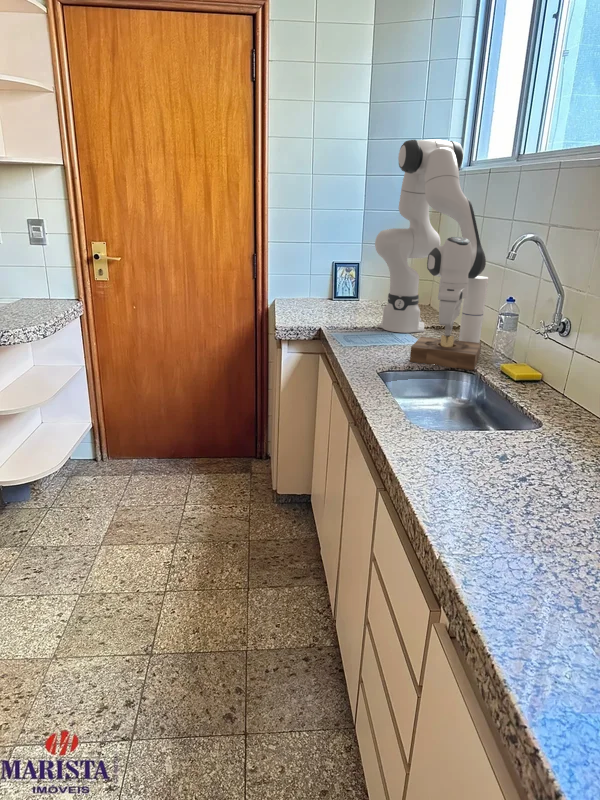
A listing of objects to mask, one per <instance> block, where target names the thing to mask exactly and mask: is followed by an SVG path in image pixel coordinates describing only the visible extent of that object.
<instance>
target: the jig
mask: <svg viewBox="0 0 600 800" xmlns="http://www.w3.org/2000/svg"><path fill="white" fill-rule="evenodd" d="M440 344H441V338H439V337H438V338H437V337H429V336H420V337H419V338H418V339H417V340H416V342H414V343H413V344H412V345H411V346H410V355H409V363H414V362H416V363H417V364H422V363H425V364H424V365H430V364H435V365H434V366H437V365H439V367H446V368H454V369H462V370H468V371H469V370H471V371H475V369H476V366H477V364H478V361H479V360H480V357H481V348H482V343H481V342H480V343H475V342H466V341H459V340H456V339H454V342H453V347H442V346H440Z"/></svg>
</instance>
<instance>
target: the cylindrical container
mask: <svg viewBox="0 0 600 800" xmlns="http://www.w3.org/2000/svg"><path fill="white" fill-rule="evenodd" d="M468 279H469V284H468V292H467V298H464V299H463V301H462V304H463V305H462V312H461V320H460V328H459V336H458V341H466V342H475V343H481V342H480V341H481V335H482V327H483V319H484V312H485V306H486V305H485V304H486V299H487V298H486V297H487V293H488V292H487V291H488V290H487V289H488V285H489V284H488V282H489V277H488V276H480V275H478V276H477V277H475V278H474V279H471V278H468Z"/></svg>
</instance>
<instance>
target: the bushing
mask: <svg viewBox="0 0 600 800" xmlns="http://www.w3.org/2000/svg"><path fill="white" fill-rule="evenodd" d="M440 336H441V337H440V339H441V344H440V346H442V347H453V342H454V340H455V335H452V334H450V335H445V334H441V335H440Z"/></svg>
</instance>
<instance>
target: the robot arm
mask: <svg viewBox="0 0 600 800" xmlns="http://www.w3.org/2000/svg"><path fill="white" fill-rule="evenodd" d="M463 149H464V148H463V147H462V144H461V143H459V142H457V141H454V140H443V139H438V138H437V139H435V138H433V139H419V140H417V139H410V140H406V141H404V142H403V143H402V145H401V146H400V148H399V153H398V157H397V158H398V167H399V168H400V170H401V172H403V173H404V175H403V178H402V184H401V188H400V189H401V190H400V195H399V201H398V212H399V215H401V216H402V217H403V218H404V219H406V220H407V221H409V228H394V227H393V228H388V229H384V230H381V231H379V232H378V234H377V235H376V237H375V241H374V247H375V251H376V253H377V254H378V256H380V257H381V258H382V259H383V260H384V261H385V263H386V265H387V267H388V270H389V278H390V279H389V293H388V295H387V304H386V305H385V306H384V307H383V310H382V319H381V323H378V326H379V327H378V326H377V327H378V328H380V329H383V330H385V331H389V332H395V333H405V334H406V333H409V334H410V333H420V332H421V333H422V332H425V321H423V320H422V318H421V309H420V307H419V300H420V296H419V286H420V275H419V273H418V271H417V270H415V269H414V268H412V267H411V266H409V264H408V259H425V258H427V262H426V269H427V271H429V273H430V274H431V275H432V276H434V277H438V278H440V279H439V285H438V295H437V300H439V305H438V324H439V326H444V335H452V333H453V327H454V323H455V322H456V320H457V318H458V317H459V316H460V314H461V308H462V304H463V300H464V298H467V292H468V284H469V279H468V278H471V279H474V278H475V277H477V276H480V275H481V274H482V273H483V271H484V270H485V268H486V263H487V262H486V261H487V258H486V255H485V252H484V249H483V246H482V244H481V239H480V234H479V230H478V225H477V220H476V215H475V211H474V209H473V208H474V207H473V204H472V202H471V200H470V199H469V198H468V197H466V195H465V193H464V191H463V190H462V186H461V183H460V170H459V169H461V166H462V163H463V160H464V150H463ZM430 208H431V209H433V210H434V211H436V212H437V213H440V214H443V215H446V216H448V217H450V218H451V219H454V220H455V222H457V224H458V225H459V227H460V228H459V229H460V233H461V236H451V237H449V238H446V240H445V242H444V244H442V243H441V241H442V240H441V237H440V234H439V233H438V232H437V230H435V228H434V227H433V225H432V224H431V221H430V220H431V219H430ZM441 244H442V245H441Z"/></svg>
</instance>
